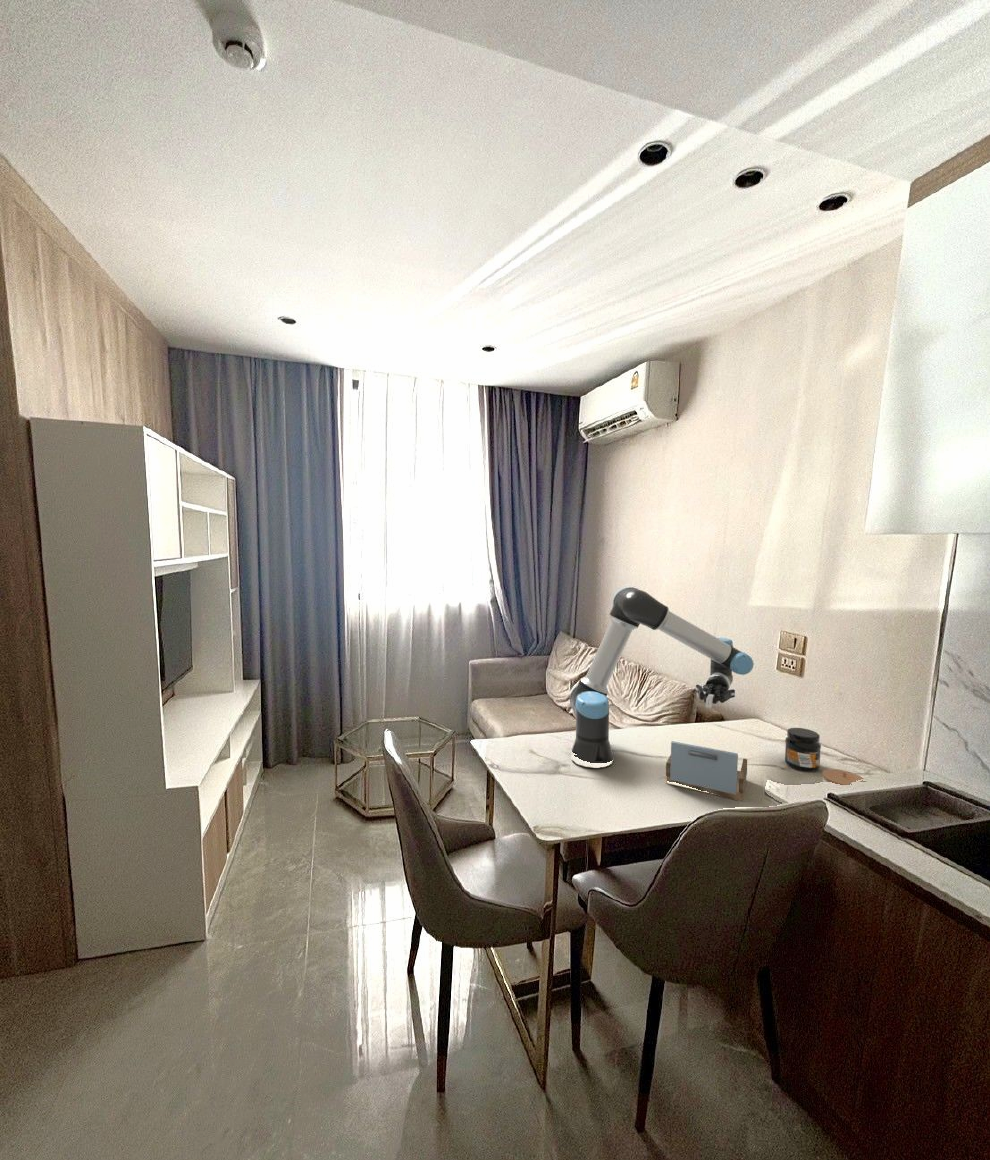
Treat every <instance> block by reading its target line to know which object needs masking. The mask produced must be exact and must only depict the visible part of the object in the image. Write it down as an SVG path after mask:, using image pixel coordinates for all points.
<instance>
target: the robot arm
mask: <svg viewBox="0 0 990 1160" xmlns="http://www.w3.org/2000/svg"><path fill="white" fill-rule="evenodd" d="M609 618H610V622H609V625H608V627H607V629H606V631H605V633H604V636H603V638H602V640H601V642H600V645H599V647H598V649H597V651H596V653H595V655H594V658H593V661H592V663H591V664H590V666H589V669H588V670H587V673H586V675H585V676H584V677H581V678H580V679H579V681H578V683H577V685H576V686H575V687H573V689H571V693H570V695H569V696H570V697H569V703H570V707H571V709H572V711H573V713H574V717H575V739H574V742H573V745H572V748H571V751H572V752H573V753H575V754H577V755H574V756H575V757H578V758H579V759H581V760H583V761H587V762H590V763H607V762H610V761H612V760H613V758H614V756H615V755H614V751H613V750H612V746H611V744H610V739H609V738H610V733H609V732H610V730H609V729H610V728H609V727H610V702H609V699H608V697H607V696H608V694H609V690H608V685H609V683H610V680H611V677H612V675H613V673H614V671H615V669H616V666H617V665H618V662H619V660H620V658H621V655H623V654H622V653H623V652H624V649H625V647H626V645H627V644H628V643H627V642H628V640H629V638H630V636H631V634H632V632H633V630H636V629H638V628H639V626H640V624H641V625H643V626H645V627H647V628H649V629H651V630H653V631H657V630H659V631H660V632H662V633H664V634H666V635H667V636H669V637H671V638H673V639H675V640H677V641H678V642H679V643H682V644H684V645H686V646H687V647H689V648H690V649H692V650H694V651H696V652H698V653H700V654H702V655H703V656H705V657H707V658H708V659H710V673H709V674H710V675H709V677H708V678H707V680H706V682H705V684H703V685H699V684H696V685H695V693H696V694H697V695H698V697H699V699H700V701H703V703H705V708H706V709H707V708H708V709H712V707H713V706H714V705H716V704H717V703H720V704H723V703H725V702H727V701H729V700H731V699H733V698H735V697H736V689H730V686H731V685H732V683H733V681H734V679H733V678H734V677H733V673H735V674H737V675H740V676H745V675H748V674H749V673H751V672H752V670H753V669H754V664H755V663H754V660H753V659H752V657H751V656H750V655H749V654H747V653H745V652H742V651H741V650H739V649H738V648H736V647H734V645H733V640H732V639H729V638H726V637H716V636H714V635H712V634H711V633H709V632H708V631H705V630H704V629H701V628H700V627H699V626H696V625H695V624H693V623H691V622H690V621H687V620H686V619H684V618H682V617H681V616H679V615H678V614H676V613H674V612H672V611H670V609H669V607H668V606H667V605H665V604H664V603H662V602H660V601H659V600H657V599H656V598H654V597H653V595H651V594H650V593H648V592H646V591H644V590H641V589H639V588H636V587H634V586H633V587H632V586H630V587H623V588H621V589H619V590H618V591H617V592H616V593H615V595H614V597H613V600H612V608H611V610H610V613H609ZM614 759H615V758H614Z"/></svg>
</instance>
